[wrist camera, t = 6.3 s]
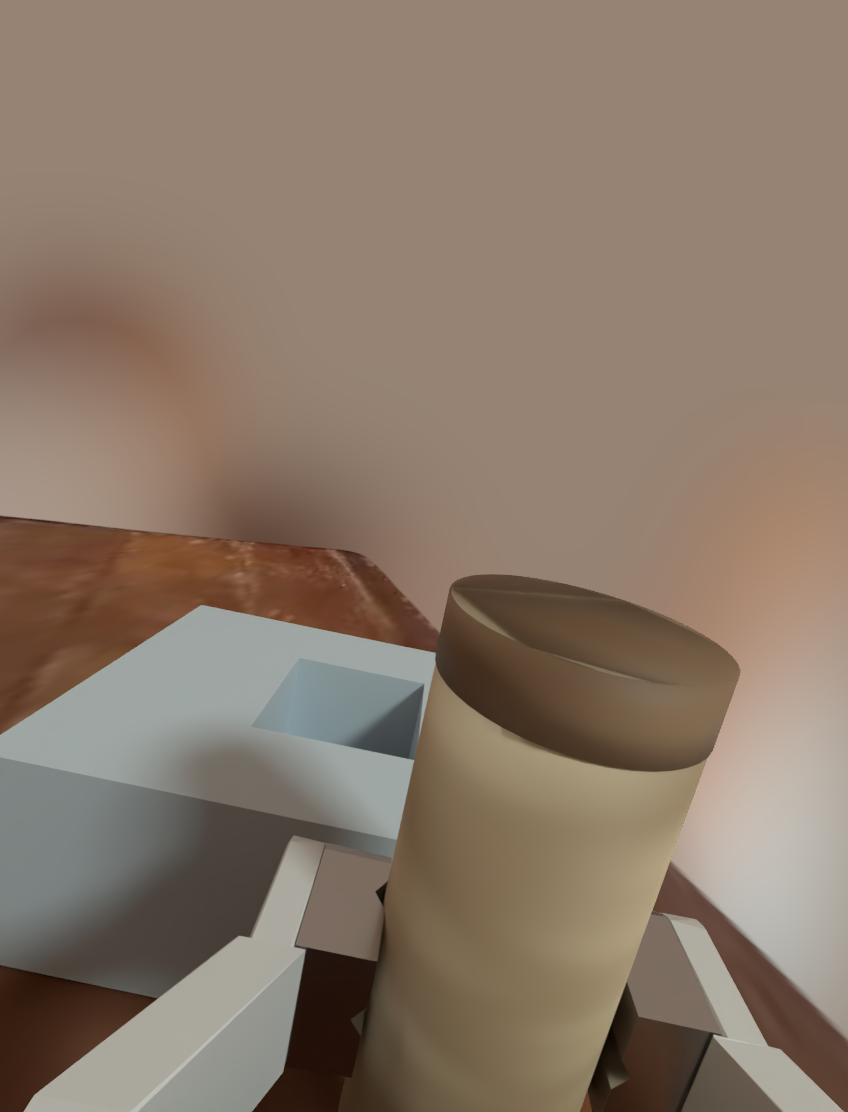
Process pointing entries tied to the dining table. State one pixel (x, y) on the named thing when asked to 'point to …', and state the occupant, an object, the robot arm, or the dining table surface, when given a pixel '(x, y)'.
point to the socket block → (195, 791)
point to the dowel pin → (532, 843)
